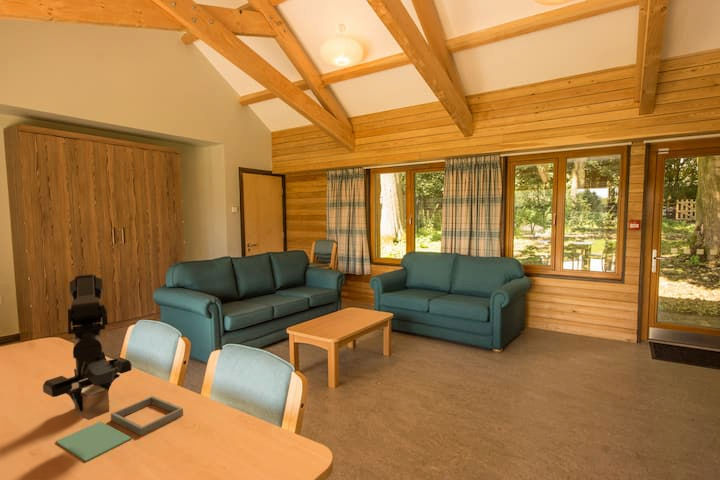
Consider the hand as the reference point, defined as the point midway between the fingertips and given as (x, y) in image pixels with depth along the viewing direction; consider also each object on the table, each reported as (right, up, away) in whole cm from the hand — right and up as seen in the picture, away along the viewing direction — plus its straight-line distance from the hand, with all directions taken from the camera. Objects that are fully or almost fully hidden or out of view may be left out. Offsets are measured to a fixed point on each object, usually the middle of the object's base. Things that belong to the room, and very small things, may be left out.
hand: (92, 406), depth 102 cm
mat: (0, -9, +1) cm, 9 cm away
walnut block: (0, -2, 0) cm, 2 cm away
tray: (+8, -8, +12) cm, 17 cm away
